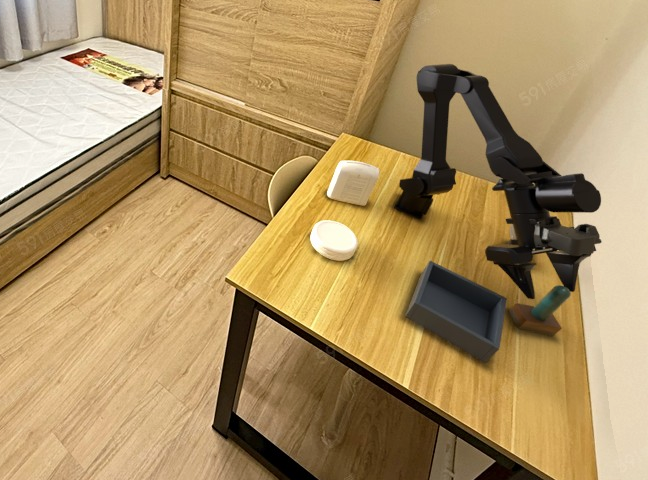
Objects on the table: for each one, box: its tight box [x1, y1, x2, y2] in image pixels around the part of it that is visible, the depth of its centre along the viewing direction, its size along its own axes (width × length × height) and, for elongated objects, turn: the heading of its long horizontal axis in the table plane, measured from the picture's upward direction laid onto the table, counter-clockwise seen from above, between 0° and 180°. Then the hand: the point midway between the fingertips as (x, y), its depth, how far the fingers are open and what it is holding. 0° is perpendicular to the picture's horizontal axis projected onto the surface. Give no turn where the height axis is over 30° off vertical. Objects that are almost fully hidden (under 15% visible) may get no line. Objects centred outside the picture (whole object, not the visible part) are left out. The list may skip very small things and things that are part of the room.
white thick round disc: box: [309, 219, 359, 262], centre depth 96 cm, size 10×10×4 cm
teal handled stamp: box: [508, 284, 572, 337], centre depth 77 cm, size 6×4×12 cm, turn 76°
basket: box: [404, 260, 508, 364], centre depth 81 cm, size 14×14×5 cm
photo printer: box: [326, 160, 380, 207], centre depth 107 cm, size 10×4×12 cm, turn 73°
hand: (551, 295), depth 76 cm, fingers open, 9 cm apart
